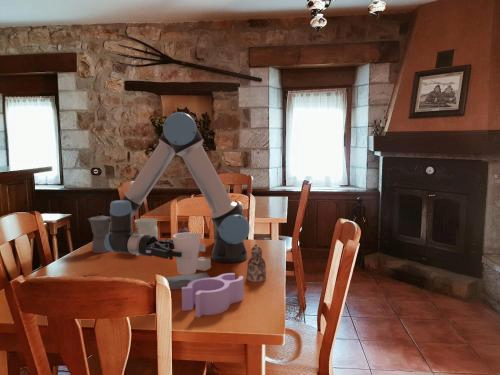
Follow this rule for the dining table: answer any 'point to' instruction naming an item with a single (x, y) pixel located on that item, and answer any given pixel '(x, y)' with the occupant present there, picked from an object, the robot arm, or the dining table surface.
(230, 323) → the dining table surface
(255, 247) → the figurine
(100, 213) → the coffeepot
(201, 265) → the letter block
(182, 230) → the vegetable
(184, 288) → the clip
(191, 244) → the foam cup
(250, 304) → the dining table surface
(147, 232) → the pitcher
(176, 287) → the slate mat
